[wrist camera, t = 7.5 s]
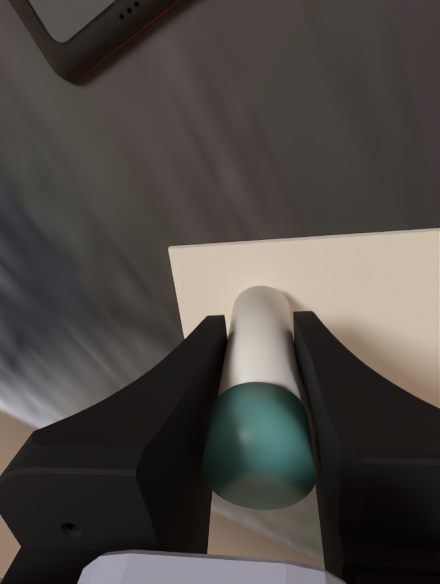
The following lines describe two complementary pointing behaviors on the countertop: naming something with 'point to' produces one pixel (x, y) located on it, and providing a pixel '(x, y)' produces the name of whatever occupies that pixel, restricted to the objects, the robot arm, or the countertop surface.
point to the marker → (259, 410)
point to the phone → (85, 29)
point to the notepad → (334, 293)
